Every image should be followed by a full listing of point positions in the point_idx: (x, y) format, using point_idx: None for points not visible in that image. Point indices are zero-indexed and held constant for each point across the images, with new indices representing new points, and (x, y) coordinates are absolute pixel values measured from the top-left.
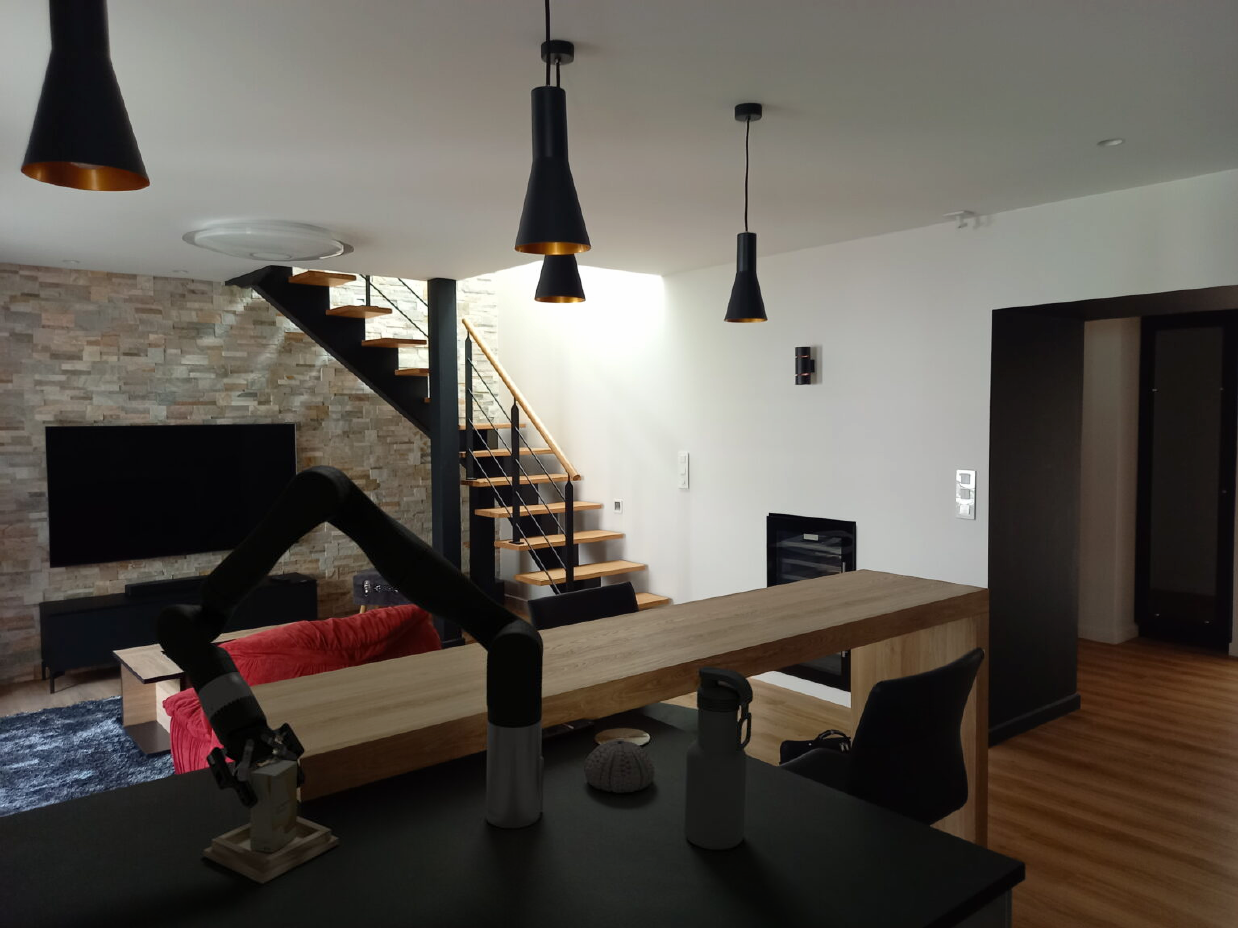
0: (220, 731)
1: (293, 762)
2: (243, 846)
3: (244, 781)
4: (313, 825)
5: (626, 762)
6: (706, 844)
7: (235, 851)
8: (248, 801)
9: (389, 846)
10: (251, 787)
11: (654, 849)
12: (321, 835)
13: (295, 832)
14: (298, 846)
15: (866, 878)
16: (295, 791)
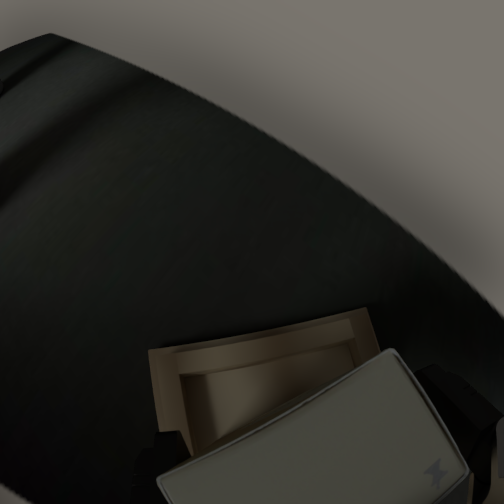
0: None
1: (181, 487)
2: None
3: (494, 420)
4: (175, 412)
5: None
6: (2, 87)
7: None
8: (450, 373)
9: (96, 266)
10: (456, 405)
11: (7, 103)
12: (188, 351)
13: (221, 437)
14: (265, 337)
15: (20, 53)
16: (204, 449)
